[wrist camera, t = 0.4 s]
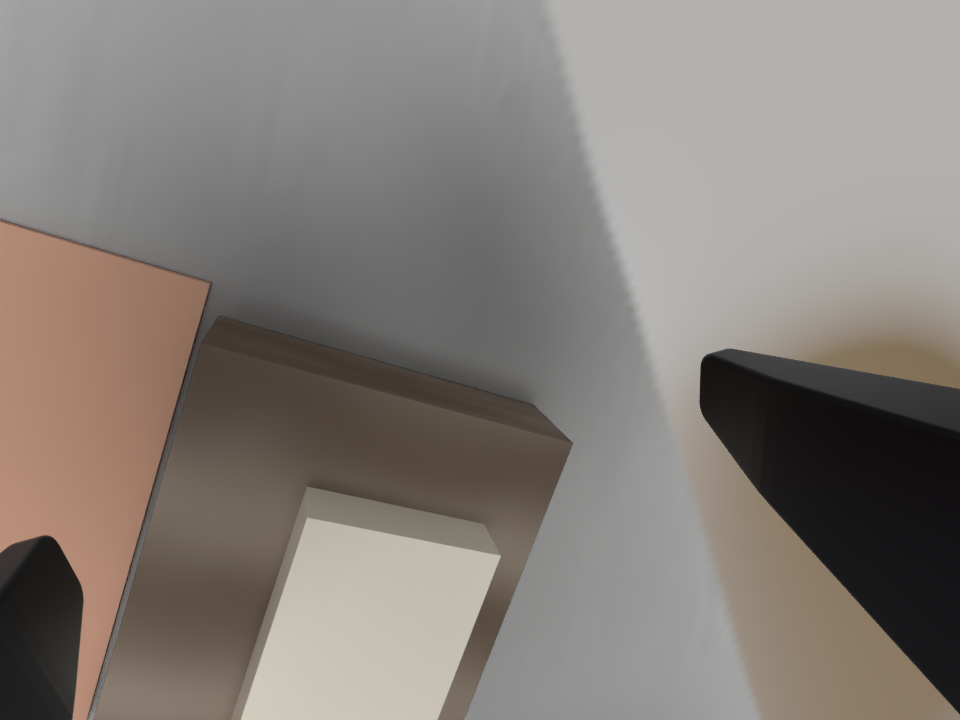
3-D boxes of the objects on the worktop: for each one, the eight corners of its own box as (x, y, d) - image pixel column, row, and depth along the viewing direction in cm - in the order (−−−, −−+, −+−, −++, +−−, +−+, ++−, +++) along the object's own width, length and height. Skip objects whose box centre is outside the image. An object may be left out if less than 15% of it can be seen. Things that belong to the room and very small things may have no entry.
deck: (405, 744, 28) (420, 828, 25) (103, 716, 25) (67, 812, 21) (534, 405, 26) (572, 443, 22) (218, 315, 22) (201, 343, 18)
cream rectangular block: (399, 746, 23) (408, 796, 22) (226, 731, 22) (219, 783, 20) (484, 524, 22) (500, 555, 20) (307, 486, 20) (306, 517, 18)
